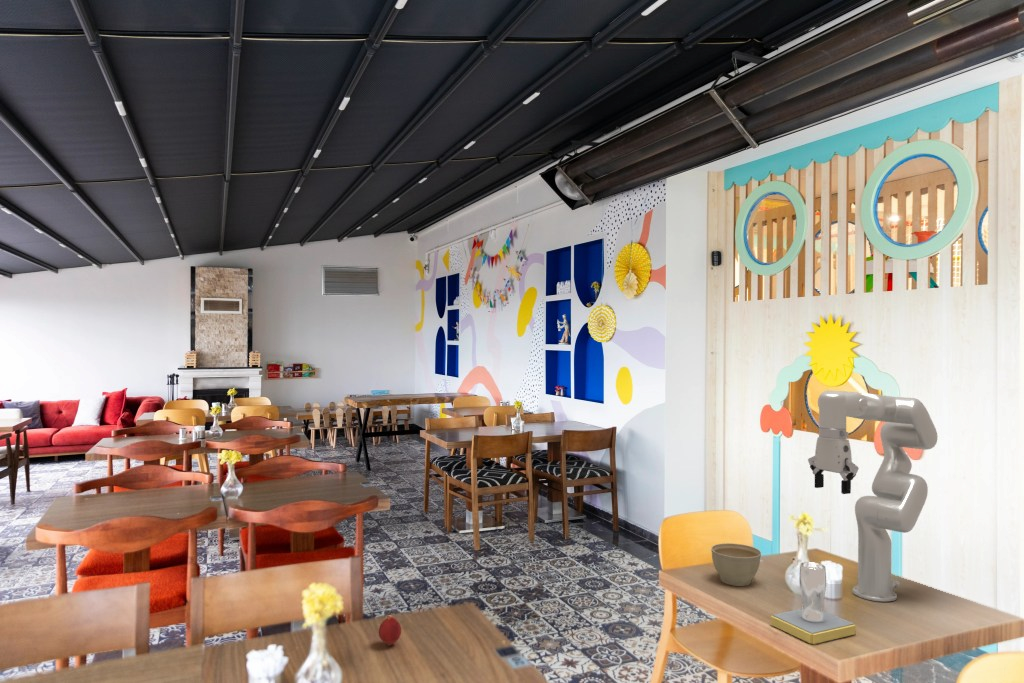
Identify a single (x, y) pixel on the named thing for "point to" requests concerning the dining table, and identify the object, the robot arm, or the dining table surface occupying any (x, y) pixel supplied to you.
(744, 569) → the planter bowl
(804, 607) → the beer glass
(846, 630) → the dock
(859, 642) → the dining table surface
